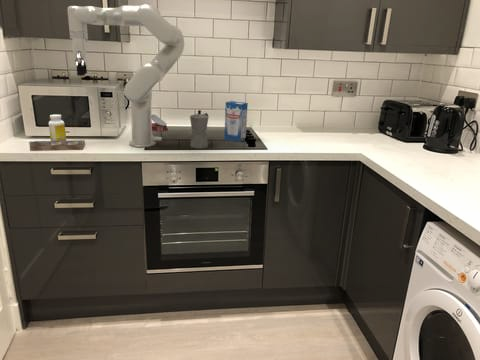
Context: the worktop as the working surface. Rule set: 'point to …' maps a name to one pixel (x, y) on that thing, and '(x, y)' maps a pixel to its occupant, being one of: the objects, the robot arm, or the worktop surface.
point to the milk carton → (235, 121)
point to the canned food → (158, 124)
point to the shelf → (57, 145)
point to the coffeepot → (199, 130)
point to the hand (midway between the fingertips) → (82, 74)
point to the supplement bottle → (57, 128)
